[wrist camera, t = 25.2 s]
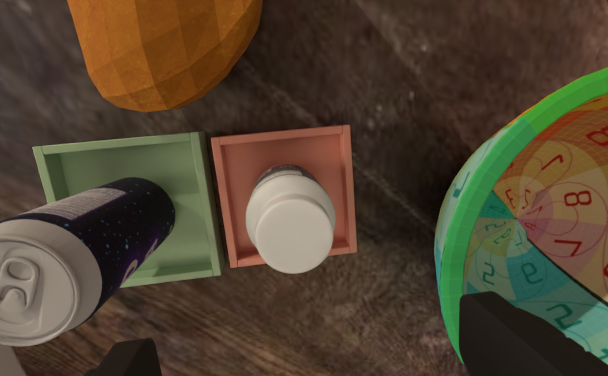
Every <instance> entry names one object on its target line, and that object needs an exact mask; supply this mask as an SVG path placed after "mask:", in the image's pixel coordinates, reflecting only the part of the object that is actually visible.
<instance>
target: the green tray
mask: <svg viewBox="0 0 608 376" xmlns="http://www.w3.org/2000/svg"><path fill="white" fill-rule="evenodd" d="M33 151H34V155H35V158H36V162H37V166H38V169H39V173H40V177H41V180H42V184H43V187H44V191H45V195H46V198H47V202H48V204H51V203H54V202H56V201H59V200H62V199H65V198H68V197H71V196H73V195H76V194H79V193H82V192H85V191H88V190H91V189H93V188H96V187H99V186H102V185H105V184H108V183H110V182H113V181H116V180H119V179H122V178H127V177H138V178H143V179H147V180H149V181H152V182H154V183H155V184H157V185H159V186H160V187H161V188H162V189H163V190H164V191H165V192H166V193H167V194H168V195H169V197H170V199H171V200H172V203H173V205H174V209H175V224H174V227H173V229H172V231H171V233H170V235H169V236H168V237H167V238H166V239H165V240H164V241H163V243H162V244H161V245H160V246H159V247H158V248H157V249H156V250H155V251H154V252H153V253H152V254H151V255H150V256H149V257H148V258H147V259H146V260H145V261H144V262H143V263H142V264H141V265H140V266H139V268H138V269H137V270H136V271H135V272H134V273H133V274H132V275H131V276H130V277H129V278H128V279H127V280H126V281H125V282H124V283H123V284H122V285H121V286H120V287H119V288H123V287H131V286H139V285H147V284H155V283H163V282H171V281H179V280H187V279H194V278H202V277H210V276H219V275H221V274H222V271H223V268H224V265H225V259H224V252H223V246H222V240H221V233H220V227H219V220H218V214H217V208H216V201H215V195H214V188H213V182H212V176H211V169H210V163H209V156H208V150H207V144H206V137H205V132H204V131H200V132H189V133H178V134H167V135H157V136H146V137H135V138H124V139H113V140H102V141H92V142H81V143H70V144H59V145H48V146H37V147H33Z"/></svg>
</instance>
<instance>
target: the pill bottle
mask: <svg viewBox="0 0 608 376" xmlns="http://www.w3.org/2000/svg"><path fill="white" fill-rule="evenodd" d="M335 223H336V215H335V209H334V205H333V203H332V200H331V198H330V197H329V195H328V193H327V192H326V190H325V189H324V188H323V187H322V186H321V185H320V184H319V182H318V181H317V179H316V178H315V177H314V176H313V175H312V174H311V173H310V172H309V171H308V170H307V169H306V168H304V167H302V166H300V165H297V164H292V163H282V164H277V165H274V166H272V167H270V168H269V169H267V170H266V171H265V172H264V173H263V174H262V175H261V176H260V177H259V179H258V180H257V182H256V184H255V187H254V189H253V192H252V195H251V198H250V200H249V203H248V206H247V210H246V228H247V232H248V235H249V238H250V240H251V241H252V243H253V245H254V246H255V247H256V248H257V250H258V252H259V254H260V256H261V257H262V259H263V260H264V261H265V262H266V263H267V264H268V265H269V266H271V267H272V268H274V269H276V270H278V271H280V272H284V273H290V274H296V273H303V272H306V271H309V270H311V269H313V268H315V267H316V266H318V265H319V264H320V263H321V262H322V261H323V260H324V259H325V258H326V257H327V255H328V254H329V252H330V250H331V247H332V244H333V232H334V229H335Z"/></svg>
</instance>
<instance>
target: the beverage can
mask: <svg viewBox="0 0 608 376" xmlns="http://www.w3.org/2000/svg"><path fill="white" fill-rule="evenodd" d="M174 224H175V209H174V205H173V203H172V200H171V199H170V197H169V195H168V194H167V193H166V192H165V191H164V190H163V189H162V188H161V187H160V186H159V185H157V184H155V183H154V182H152V181H149V180H147V179H143V178H138V177H127V178H122V179H119V180H116V181H113V182H110V183H108V184H105V185H102V186H99V187H96V188H93V189H91V190H88V191H85V192H82V193H79V194H76V195H73V196H71V197H68V198H65V199H62V200H59V201H56V202H54V203H51V204H48V205H45V206H42V207H39V208H36V209H34V210H31V211H28V212H25V213H22V214H19V215H17V216H14V217H11V218H8V219H5V220H2V221H0V344H4V345H9V346H31V345H36V344H41V343H44V342H46V341H49V340H51V339H53V338H55V337H57V336H58V335H60V334H61V333H63V332H65V331H68V330H71V329H73V328H76V327H78V326H80V325H81V324H83V323H84V322H86V321H87V320H88V319H89V318H91V317H92V316H93V314H94V313H95V312H96V311H97V310H98V309H99V308H100V307H101V306H102V305H103V304H104V303H105V302H106V301H107V300H108V299H109V298H110V297H111V296H112V295H113V294H114V293H115V292H116V290H117V289H118V288H119V287H120V286H121V285H122V284H123V283H124V282H125V281H126V280H127V279H128V278H129V277H130V276H131V275H132V274H133V273H134V272H135V271H136V270H137V269H138V268H139V266H140V265H141V264H142V263H143V262H144V261H145V260H146V259H147V258H148V257H149V256H150V255H151V254H152V253H153V252H154V251H155V250H156V249H157V248H158V247H159V246H160V245H161V244H162V243H163V241H164V240H165V239H166V238H167V237H168V236H169V235H170V233H171V231H172V229H173V227H174Z"/></svg>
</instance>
